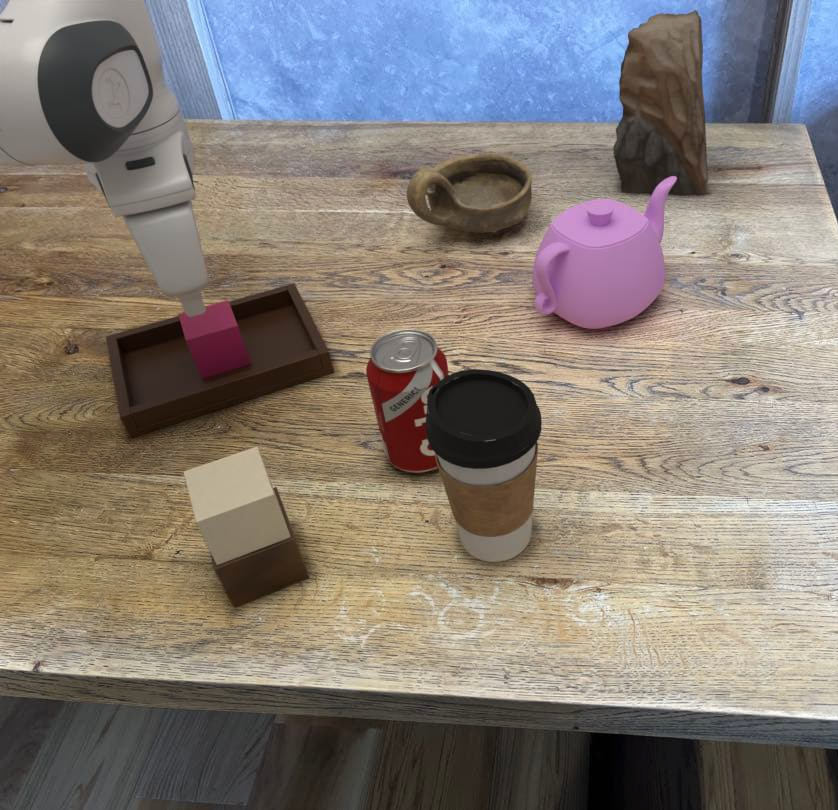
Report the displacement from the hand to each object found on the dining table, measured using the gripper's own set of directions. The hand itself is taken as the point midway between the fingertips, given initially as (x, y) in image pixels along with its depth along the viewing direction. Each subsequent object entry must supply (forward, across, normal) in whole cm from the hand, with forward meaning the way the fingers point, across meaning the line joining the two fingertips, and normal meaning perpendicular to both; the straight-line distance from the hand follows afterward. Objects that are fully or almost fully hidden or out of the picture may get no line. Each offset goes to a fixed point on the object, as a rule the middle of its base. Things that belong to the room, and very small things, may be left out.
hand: (187, 286), depth 79 cm
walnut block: (+10, +28, -2) cm, 30 cm away
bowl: (+10, -13, +35) cm, 38 cm away
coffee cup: (+10, +34, +16) cm, 39 cm away
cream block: (+5, +28, -2) cm, 28 cm away
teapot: (+10, +9, +42) cm, 44 cm away
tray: (+10, 0, +1) cm, 10 cm away
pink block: (+9, 0, +1) cm, 9 cm away
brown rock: (+9, -11, +63) cm, 64 cm away
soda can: (+10, +22, +14) cm, 28 cm away
